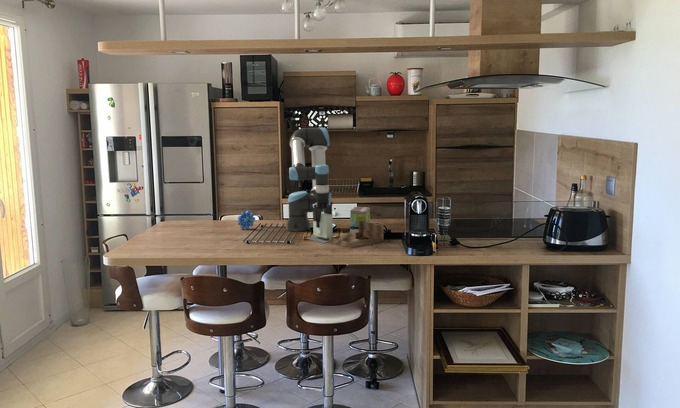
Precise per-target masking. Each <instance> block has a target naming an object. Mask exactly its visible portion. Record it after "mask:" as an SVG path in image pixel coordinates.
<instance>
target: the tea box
mask: <svg viewBox="0 0 680 408" xmlns="http://www.w3.org/2000/svg"><path fill="white" fill-rule="evenodd" d="M349 217H350V218H349V221H350V222H349V223H350V224H349V233H357V232H359V221H366V222H371V207H369V206H368V207H366V206H354V207H352V208H351V210H350V216H349Z"/></svg>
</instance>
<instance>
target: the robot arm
mask: <svg viewBox="0 0 680 408" xmlns="http://www.w3.org/2000/svg"><path fill="white" fill-rule="evenodd" d="M289 146H290V149H291V166H290V167H289V169H288V170H289V171H288V173H289V176H288V178H289V180H290V181H312V188H311V190H310V193H308V191H307V190H306V191H305V190H301V191H295V192H291V193H290V194H289V195H288V199H287V201H288V219H287V223H286V227H285V229H286V231H288V232H297V233H298V232H308V231H310V230H311V229H310V228H311V223H310V221H309V218H308V213H312V222H313V221H316V227H317V233H320V234H321V222H320V218H321V212H322V213H326V214H331V215H332V216H333V204H334V203H333V201H332V193H331V192H330V185H329V183H330V180H329V178H330V177H329V175H330V169H329V165H328V164H326V151H327V150H328V147H329V146H330V136H329V131H328V129H327V128H326V127H302V128H299V129H297V130H296V131H294V132H293V133H292V135H291V137H289ZM305 147H308V150H309V151H310V152H311V166H306V164H305V163H306V161H305V160H306V159H305Z"/></svg>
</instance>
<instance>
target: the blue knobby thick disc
mask: <svg viewBox="0 0 680 408" xmlns="http://www.w3.org/2000/svg"><path fill="white" fill-rule="evenodd" d="M254 215H255V214H254V212H251V211H250V210H249V209H248V210H246V211H242V212H241V213H240V215H238V216H237V219H238V220H237V225H238V226H240V229H245V230H248V229H250V227H253V226H254V222H255V221H256V217H254Z"/></svg>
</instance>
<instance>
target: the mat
mask: <svg viewBox="0 0 680 408" xmlns="http://www.w3.org/2000/svg"><path fill="white" fill-rule="evenodd" d="M305 239H306V240H310V241H314V242H317V243H321V244H327V243H330V242H329V238H323V237H319V236H315V235H313V236H310V237H306V238H305Z"/></svg>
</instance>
